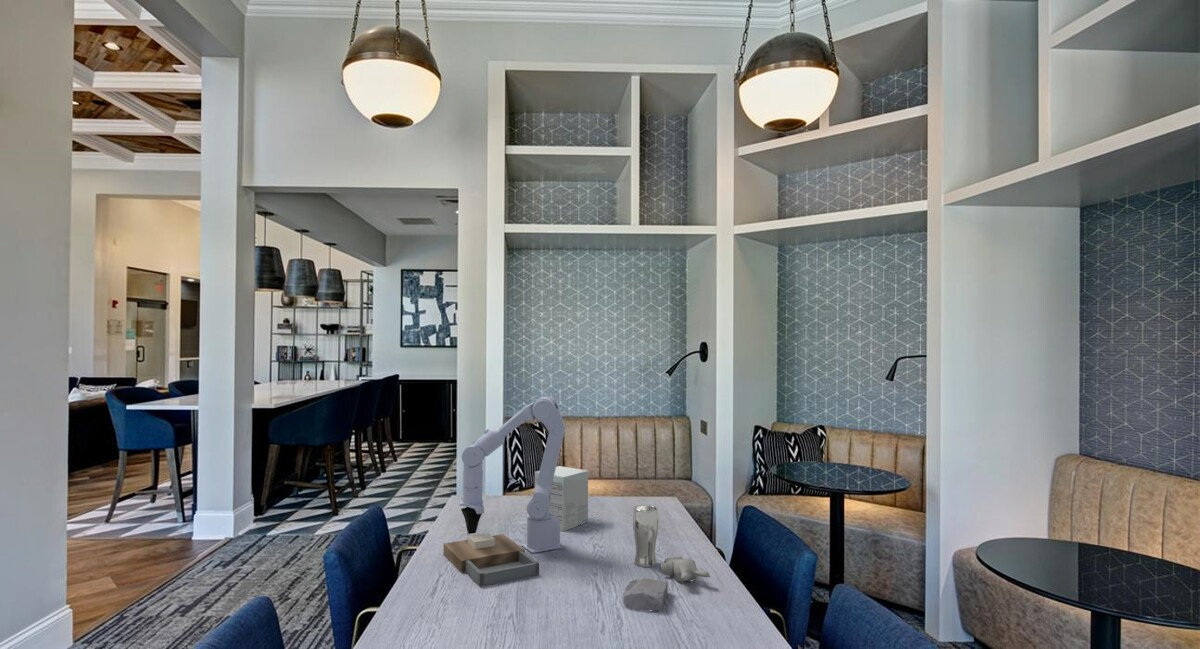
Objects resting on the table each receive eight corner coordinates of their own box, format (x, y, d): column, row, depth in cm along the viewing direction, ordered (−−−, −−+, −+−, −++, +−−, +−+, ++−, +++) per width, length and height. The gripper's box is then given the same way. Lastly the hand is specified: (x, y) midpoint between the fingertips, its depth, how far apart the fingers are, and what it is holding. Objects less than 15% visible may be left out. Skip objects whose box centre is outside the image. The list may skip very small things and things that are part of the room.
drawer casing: (503, 544, 183) (503, 534, 183) (524, 560, 169) (524, 549, 169) (443, 554, 174) (443, 543, 174) (461, 572, 160) (461, 560, 160)
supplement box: (558, 515, 214) (559, 465, 215) (588, 522, 207) (589, 470, 207) (533, 524, 203) (533, 471, 204) (563, 531, 196) (564, 476, 196)
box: (522, 561, 168) (522, 550, 168) (539, 574, 159) (539, 563, 159) (465, 572, 160) (465, 560, 160) (479, 586, 151) (479, 574, 151)
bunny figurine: (685, 552, 166) (713, 564, 152) (686, 571, 165) (714, 585, 151) (653, 555, 163) (679, 568, 149) (654, 575, 162) (680, 590, 148)
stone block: (622, 618, 138) (666, 613, 137) (618, 596, 139) (661, 591, 137) (630, 598, 150) (670, 594, 148) (626, 578, 151) (666, 573, 149)
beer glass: (661, 561, 170) (661, 506, 170) (652, 569, 163) (653, 512, 164) (638, 557, 172) (638, 503, 173) (628, 565, 166) (629, 509, 167)
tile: (487, 540, 177) (487, 533, 177) (495, 545, 172) (495, 538, 172) (467, 543, 174) (467, 536, 174) (474, 549, 169) (474, 542, 169)
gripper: (452, 482, 185) (451, 528, 184) (467, 493, 172) (466, 541, 172) (474, 480, 188) (473, 525, 188) (491, 490, 176) (490, 538, 175)
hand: (471, 532), depth 180 cm, fingers closed
